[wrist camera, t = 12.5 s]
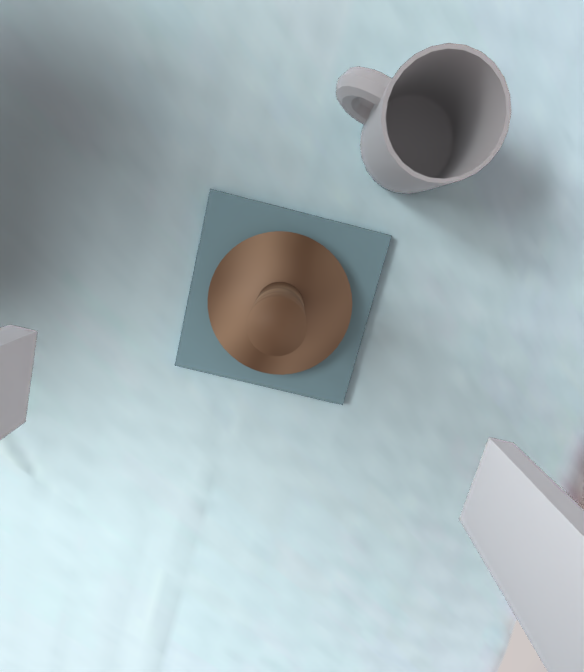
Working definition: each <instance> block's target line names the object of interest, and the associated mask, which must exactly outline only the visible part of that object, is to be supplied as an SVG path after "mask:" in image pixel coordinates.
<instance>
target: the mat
mask: <svg viewBox="0 0 584 672" xmlns="http://www.w3.org/2000/svg"><path fill="white" fill-rule="evenodd" d="M275 231H286V232H293V233H298V234H301V235H304V236H307V237H309V238H311V239H313V240H315V241H317V242H318V243H320V244H321V245H323V246H324V247H325V248H326V249H328V250H329V251H330V252H331V253H332V254H333V255H334V256H335V258H336V259H337V260H338V261H339V263H340V264H341V266H342V267H343V269H344V271H345V273H346V275H347V278H348V281H349V284H350V288H351V293H352V314H351V319H350V323H349V326H348V329H347V331H346V333H345V335H344V337H343V339H342V341H341V342H340V344H339V345H338V347H337V348H336V349H335V350H334V351H333V352H332V354H330V355H329V356H328V357H327V358H326V359H325V360H323V361H322V362H320V363H319V364H317V365H315V366H314V367H312V368H310V369H307V370H304V371H301V372H297V373H293V374H284V375H278V374H268V373H263V372H259V371H256V370H253V369H251V368H249V367H247V366H245V365H243V364H242V363H240V362H238V361H237V360H236V359H235V358H233V357H232V356H231V355H230V354H229V353H228V352H227V351H226V350H225V349H224V348H223V346H222V345H221V344H220V342H219V341H218V339H217V337H216V335H215V333H214V331H213V329H212V326H211V323H210V319H209V314H208V291H209V286H210V282H211V279H212V277H213V274H214V272H215V270H216V268H217V266H218V265H219V263H220V262H221V260H222V259H223V258H224V257H225V255H226V254H227V253H228V252H229V251H230V250H231V249H232V248H234V247H235V246H236V245H238V244H239V243H241V242H242V241H244V240H246V239H248V238H250V237H253V236H255V235H258V234H262V233H266V232H275ZM390 240H391V235H388V234H384V233H380V232H376V231H372V230H368V229H364V228H360V227H356V226H353V225H349V224H345V223H341V222H337V221H333V220H329V219H325V218H322V217H318V216H314V215H310V214H306V213H302V212H298V211H294V210H290V209H287V208H283V207H279V206H275V205H271V204H267V203H263V202H259V201H256V200H252V199H248V198H244V197H240V196H236V195H232V194H228V193H224V192H221V191H217V190H213V189H210V193H209V198H208V203H207V208H206V213H205V218H204V223H203V228H202V233H201V238H200V243H199V248H198V252H197V257H196V262H195V267H194V272H193V277H192V282H191V287H190V292H189V297H188V302H187V307H186V312H185V317H184V322H183V327H182V332H181V337H180V342H179V347H178V352H177V357H176V362H175V366H179V367H184V368H188V369H192V370H196V371H201V372H205V373H209V374H213V375H218V376H222V377H226V378H230V379H235V380H239V381H243V382H247V383H252V384H256V385H260V386H264V387H269V388H273V389H277V390H281V391H286V392H290V393H294V394H298V395H303V396H307V397H311V398H315V399H320V400H324V401H328V402H332V403H337V404H341V405H343V402H344V399H345V395H346V392H347V389H348V385H349V382H350V378H351V375H352V371H353V368H354V364H355V361H356V357H357V354H358V350H359V347H360V344H361V340H362V337H363V333H364V330H365V326H366V323H367V319H368V316H369V312H370V309H371V306H372V302H373V299H374V295H375V292H376V288H377V285H378V281H379V278H380V274H381V271H382V267H383V264H384V261H385V257H386V254H387V250H388V247H389V243H390Z"/></svg>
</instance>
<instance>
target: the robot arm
mask: <svg viewBox="0 0 584 672" xmlns="http://www.w3.org/2000/svg"><path fill="white" fill-rule="evenodd" d="M36 339H37V331H35V330H31V329H27V328H23V327H18V326H14V325H10V324H9V325H6V326H4V327H1V328H0V440H1V439H3V438H4V437H5V436H7V435H8V434H10V433H11V432H12V431H14V430H15V429H16V428H18V427H19V426H21V425H22V424H23V423H25V422H26V414H27V407H28V399H29V392H30V384H31V377H32V369H33V362H34V354H35V347H36ZM459 520H460V522H461V523H462V525H463V527H464V529H465V530H466V532H467V534H468V535H469V537H470V539H471V541H472V542H473V544H474V546H475V547H476V549H477V551H478V553H479V554H480V556H481V558H482V560H483V561H484V563H485V565H486V566H487V568H488V570H489V572H490V573H491V575H492V577H493V578H494V580H495V582H496V584H497V585H498V587H499V589H500V590H501V592H502V594H503V596H504V597H505V599H506V601H507V603H508V604H509V606H510V608H511V609H512V611H513V613H514V615H515V616H516V618H517V620H518V621H519V623H520V625H521V627H522V628H523V630H524V632H525V634H526V635H527V637H528V639H529V640H530V642H531V644H532V645H533V647H534V649H535V650H536V652H537V654H538V656H539V658H540V659H541V661H542V663H543V664H544V666H545V668H546V669H547V671H548V672H584V510H583V509H582V508H581V507H580V506H579V505H578V504H577V503H576V502H575V501H574V500H573V499H572V498H571V497H570V496H569V495H568V494H566V493H565V492H564V491H563V490H562V489H561V488H560V487H559V486H558V485H557V484H556V483H555V482H554V481H553V480H552V479H551V478H550V477H549V476H548V475H547V474H546V473H545V472H544V471H542V470H541V469H540V468H539V467H538V466H537V465H536V464H535V463H534V462H533V461H532V460H531V459H530V458H529V457H528V456H527V455H526V454H525V453H524V452H523V451H522V450H521V449H520V448H519V447H517V446H516V445H515V444H514V443H512V442H508V441H504V440H499V439H495V438H491V437H489V438H488V441H487V443H486V446H485V449H484V452H483V454H482V457H481V460H480V462H479V465H478V468H477V471H476V473H475V476H474V479H473V481H472V484H471V487H470V490H469V492H468V495H467V498H466V501H465V503H464V506H463V509H462V511H461V514H460V517H459Z"/></svg>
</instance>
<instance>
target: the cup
mask: <svg viewBox="0 0 584 672" xmlns="http://www.w3.org/2000/svg"><path fill="white" fill-rule="evenodd" d="M336 97H337V100H338V102H339V103H340V105H341V106H342V107H343V109H344V110H345V111H346V112H347V113H348V114H349V115H350V116H351V117H353V118H354V119H356V120H357V121H359V122H360V123H362V124H364V126H363V129H362V131H361V139H360V150H361V157H362V160H363V163H364V165H365V168H366V170H367V172H368V173H369V174H370V176H371V177H372V178H373V180H374V181H376V182H377V183H378V184H380V185H381V186H382V187H383V188H385V189H388V190H391V191H393V192H396V193H406V194H411V193H417V192H422V191H426V190H429V189H433V188H436V187H440V186H443V185H447V184H450V183H454V182H457V181H461V180H463V179H465V178H467V177H469V176H471V175H474V174H476V173H477V172H478V171H480V170H481V169H482V168H483V167H484V166H486V165H487V164H488V163H489V162H490V161H491V160H492V158H493V157H494V156H495V155H496V153H497V152H498V151H499V149H500V148H501V146H502V143H503V141H504V139H505V137H506V134H507V132H508V128H509V123H510V117H511V101H510V93H509V90H508V87H507V84H506V81H505V77H504V76H503V74H502V73H501V71H500V70H499V68H498V67H497V66H496V64H495V63H494V62H493V61H492V60H491V59H490V58H488V57H487V56H486V55H485V54H484V53H482V52H481V51H479V50H476V49H474V48H472V47H469V46H467V45H462V44H452V43H446V44H441V45H436V46H431V47H429V48H426V49H424V50H422V51H420V52H418V53H416V54H414V55H413V56H412V57H411V58H410V59H409V60H408V61H406V62H405V63H404V64H403V65H402V66H401V67H400V68H399V70H398V71H397V73H396V74H395V75H394V77H393V78H391V77H389V76H387V75H385V74H383V73H381V72H379V71H376V70H374V69H369V68H364V67H352V68H350V69H349V70H347V71H346V72H345V73H344V74H343V75H341V76H340V77H339V78H338V81H337V86H336Z"/></svg>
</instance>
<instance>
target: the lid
mask: <svg viewBox="0 0 584 672" xmlns="http://www.w3.org/2000/svg"><path fill="white" fill-rule="evenodd" d="M208 314H209V319H210V323H211V326H212V329H213V331H214V333H215V335H216V337H217V339H218V341H219V342H220V344H221V345H222V346H223V348H224V349H225V350H226V351H227V352H228V353H229V354H230V355H231V356H232V357H233V358H235V359H236V360H237V361H238V362H240V363H242V364H243V365H245V366H247V367H249V368H251V369H253V370H256V371H259V372H263V373H268V374H278V375H284V374H293V373H297V372H301V371H304V370H307V369H310V368H312V367H314V366H315V365H317V364H319V363H320V362H322V361H323V360H325V359H326V358H327V357H328V356H329V355H330V354H332V352H333V351H334V350H335V349H336V348H337V347H338V345H339V344H340V342H341V341H342V339H343V337H344V335H345V333H346V331H347V329H348V326H349V323H350V319H351V314H352V293H351V288H350V284H349V281H348V278H347V275H346V273H345V271H344V269H343V267H342V266H341V264H340V263H339V261H338V260H337V259H336V258H335V256H334V255H333V254H332V253H331V252H330V251H329V250H328V249H326V248H325V247H324V246H323V245H321V244H320V243H318V242H317V241H315V240H313V239H311V238H309V237H307V236H304V235H301V234H298V233H293V232H286V231H275V232H266V233H262V234H258V235H255V236H253V237H250V238H248V239H246V240H244V241H242V242H241V243H239V244H238V245H236V246H235V247H234V248H232V249H231V250H230V251H229V252H228V253H227V254H226V255H225V257H224V258H223V259H222V260H221V262H220V263H219V265H218V266H217V268H216V270H215V272H214V274H213V277H212V279H211V282H210V286H209V291H208Z"/></svg>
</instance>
